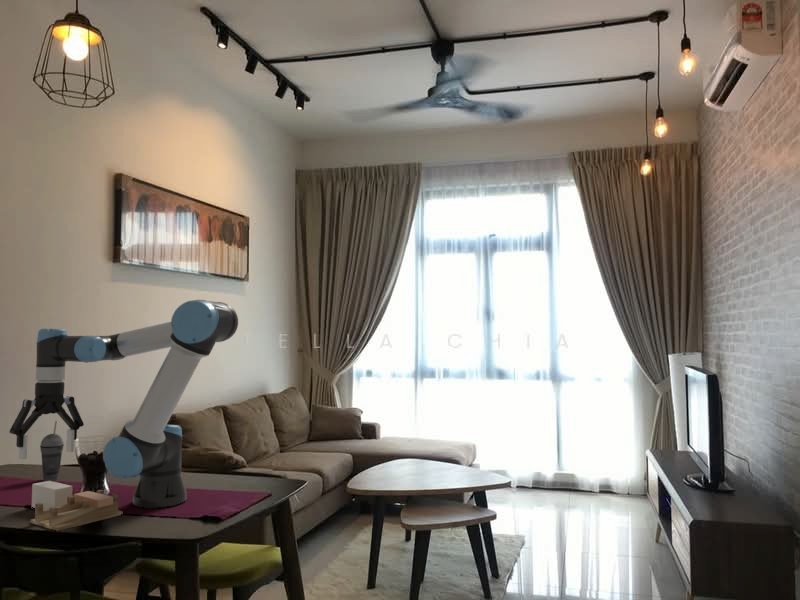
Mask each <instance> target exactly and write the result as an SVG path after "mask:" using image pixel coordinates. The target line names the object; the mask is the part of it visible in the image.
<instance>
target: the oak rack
mask: <svg viewBox="0 0 800 600" xmlns="http://www.w3.org/2000/svg"><path fill="white" fill-rule="evenodd" d="M104 491H105V490H103V489H97V490H96V493H99V494H103V495H105V492H104ZM110 495H111V496H112V497H113V504H112V505H108V506H104V507H100V508H97V507H93V506H89V500H82V503H78V502H75V497H73V495H72V496H69V497H67V504H66V505H62V506H57V507H51V508H48V509H44V510H43V503H36V504H35V509H34V511H35V512H34V518H32V519H30V524H34V525H37V526H38V527H39V526H40V527H42V526H43V528H46V529H50V530H52V529H53V531H55V530H56V532H58V531H59V530H60V531H62V530H67V529H71V528H74V527H79V526H83V525H88V524H90V523H94V522H99V521H102V520H107V519H110V518H115V517H118V516H121V514H122V515H124V514H123V511H121V510H119V493H115V492H114V493H111V494H110ZM60 531H59V532H60Z"/></svg>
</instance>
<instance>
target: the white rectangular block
mask: <svg viewBox="0 0 800 600" xmlns="http://www.w3.org/2000/svg"><path fill="white" fill-rule="evenodd" d="M31 487H32V489H31V508H32V507H33V508H35V504H36V503H43V510H44V509H48V508H51V507H57V506H62V505H66V504H67V497H69V496H73V485H68V484H64V483H61V482H58V481H41V482H36V483H32V485H31ZM33 508H32V509H33Z"/></svg>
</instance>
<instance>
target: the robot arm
mask: <svg viewBox="0 0 800 600" xmlns="http://www.w3.org/2000/svg"><path fill="white" fill-rule="evenodd" d="M238 327H239V318H238V314H237V312H236V310H235V309H234V308H233V307H232V306H230V305H229V304H228V303H225V302H221V301H210V300H204V299H194V300H193V299H192V300H189V301H185V302H183V303H182V304H180V305H179V306H178V307H177V308H175V310H174V312H173V314H172V315H171V320H170V321H168V322H164V323H159V324H155V325H151V326H146V327H142V328H137V329H133V330H128V331H124V332H120V333H116V334H110V335H68V334H67V333H68V332H67V330H66V329H65V328H40V329H39V330H38V332H37V338H36V365H35V381H36V383H35V384H34V398H33V399H34V400H32V399H26V398H25V399H24V400H23V401H22V405H21V408H20V411H19V412H18V414H17V416H16V418H15V420H14V421H13V423H12V425H11V427H10V429H9V431H8V432H9V433H10V434H12V435H16V447H17V448H18V459H20V460H27V458H28V455H27V454H28V435H27V434H26V433H28V431H29V430H30V428H32V427H33V425H34V424H35V422H36V421H37V420H38V419H39V418H40V417H41V416H42V415H49V414H57V415H58V416H59V417H60V418H61V420H62V421H64V423H65V424H66V425H67V426H68V429H67V428H66V444H65V445H66V446H65V448H66V449H65V452H68V453H74V452H75V451H74V450H75V448H74V447H75V441H76V440H77V437H78V434H77V433H78V430H79V429H80V428H81V427H83V426H85V425H84V422H83V420H82V418H81V417H82V416H81V415H80V413H79V410H78V408H77V406H76V404H75V403H76V402H75V397H74V396H69V395H68V396H66V397H64V395H65V382H64V380H65V379H66V362H74V363H76V362H77V363H85V364H86V363H97V362H102V361H119V360H122V359H125V358H127V357H131V356H135V355H140V354H144V353H145V354H146V353H149V352H154V351H158V350H164V349H169V348H170V349H169V350H168V353H166V357H165V358H164V360H163V361H162V364H161V366H160V368H159V370H158V372H157V374H156V376H155V378H154V380H153V381H152V383H151V385H150V387H149V388H148V391H147V393H146V395H145V397H144V399H143V401H142V403H141V405H140V406H139V408H138V411H137V412H136V414H135V416H134V418H133V419H130V420H128V421H126V422H125V423H124V425H123V427H122V429H121V431H120V433H119V434H118V436H115V437H113V438H111V439H110V440H108V442H107V443H106V444H105V445H104V448H103V453H102V460H103V462H104V464H105V465H104V466H105V468H106V470H107V471H108V473H109V474H111V475H112V476H113V477H115V478H118V479H120V480H126V479H133V478H136V477H138V476H139V478H138V480H137V481H138V482H137V485H136V488H135V489H134V493H133V496H132V505H133V506H134V505H135V507H137V506H138V507H137V508H142V507H144V508H145V509H159V508H158V507H161V508H167V506H169V507H172V506H177V504H178V505H180V503H181V504H183V503H185V502H186V501H187V500H186V499H188V498H187V496H188V495H187V494H188V493H187V489H186V486H185V482H184V480H183V476H182V455H183V431H182V430H183V429H182V427H181V426H180V425H179V424H178V425H177V424H168V423H169V421H170V420H171V417H172V416H173V413H174V411H175V410H176V407H177V405H178V403H179V402H180V399H181V398H182V396H183V394H184V392H185V390H186V388H187V386H189V385H188V384H189V382H190V380H191V379H192V377H193V375H194V373H195V371H196V370H197V367H198V366H199V363H200V362H201V360H202V359H203V358H206V357H208V356H210V355H211V352H212V350H213V348H214V347H215V345H216V343H222V342H226V341H227V340H229V339H231V338H232V337H233V336H234V335H235V333H236V332H237V330H238ZM64 404H65V405H66V407H67V409H68V412H69V413H70V415H69V414H68V413H67V411H66V409H65V408H64V407H63V405H64ZM33 406H34V407H35V408H34V409H33V410H32V411H31V409H32V408H33ZM30 411H31V414H30V415H29V413H30ZM27 416H29V417H27ZM26 418H27V419H26ZM184 501H185V502H184ZM182 502H183V503H182Z"/></svg>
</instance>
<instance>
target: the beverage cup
mask: <svg viewBox="0 0 800 600" xmlns="http://www.w3.org/2000/svg"><path fill="white" fill-rule="evenodd" d="M56 429H57V420H55V422H54V428H53V433H49V434H47V435H45V436H44V437H43V438H42V439H41V442H40V446H39V447H40V448H39V449H40V453H41V468H42V477H43V480H44V481H43V482H46V481H53V482H56V481H58V480H59V475H60V472H61V471H60V470H61V463H62V455H63V451H64V450H63V449H64V446H65V444H64V440H63V438H62V437H61V435H59V434H57V433H56V431H57V430H56Z"/></svg>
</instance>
